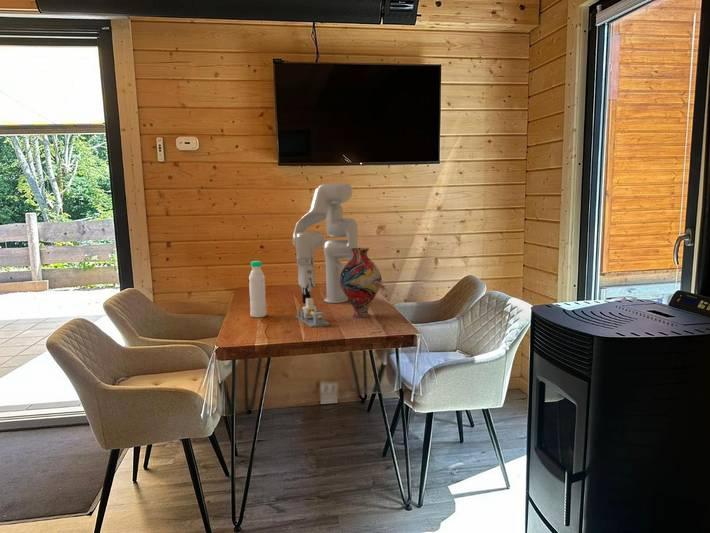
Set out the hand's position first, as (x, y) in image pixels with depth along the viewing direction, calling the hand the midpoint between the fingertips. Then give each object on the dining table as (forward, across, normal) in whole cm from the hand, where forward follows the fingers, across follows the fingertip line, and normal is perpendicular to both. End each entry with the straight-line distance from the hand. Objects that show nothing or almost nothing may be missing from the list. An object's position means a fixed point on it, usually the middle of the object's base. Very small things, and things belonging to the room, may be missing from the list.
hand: (306, 303), depth 211 cm
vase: (+7, -7, -23) cm, 25 cm away
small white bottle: (+5, -4, 0) cm, 7 cm away
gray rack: (+7, -6, 0) cm, 9 cm away
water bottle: (+7, +15, +18) cm, 24 cm away
